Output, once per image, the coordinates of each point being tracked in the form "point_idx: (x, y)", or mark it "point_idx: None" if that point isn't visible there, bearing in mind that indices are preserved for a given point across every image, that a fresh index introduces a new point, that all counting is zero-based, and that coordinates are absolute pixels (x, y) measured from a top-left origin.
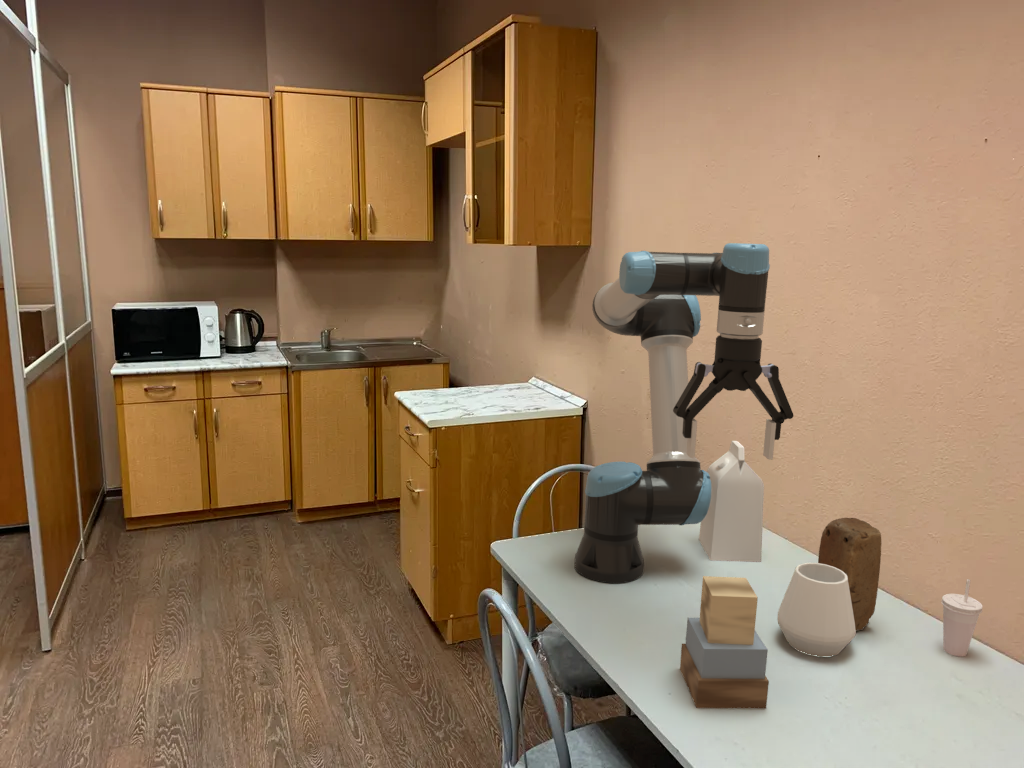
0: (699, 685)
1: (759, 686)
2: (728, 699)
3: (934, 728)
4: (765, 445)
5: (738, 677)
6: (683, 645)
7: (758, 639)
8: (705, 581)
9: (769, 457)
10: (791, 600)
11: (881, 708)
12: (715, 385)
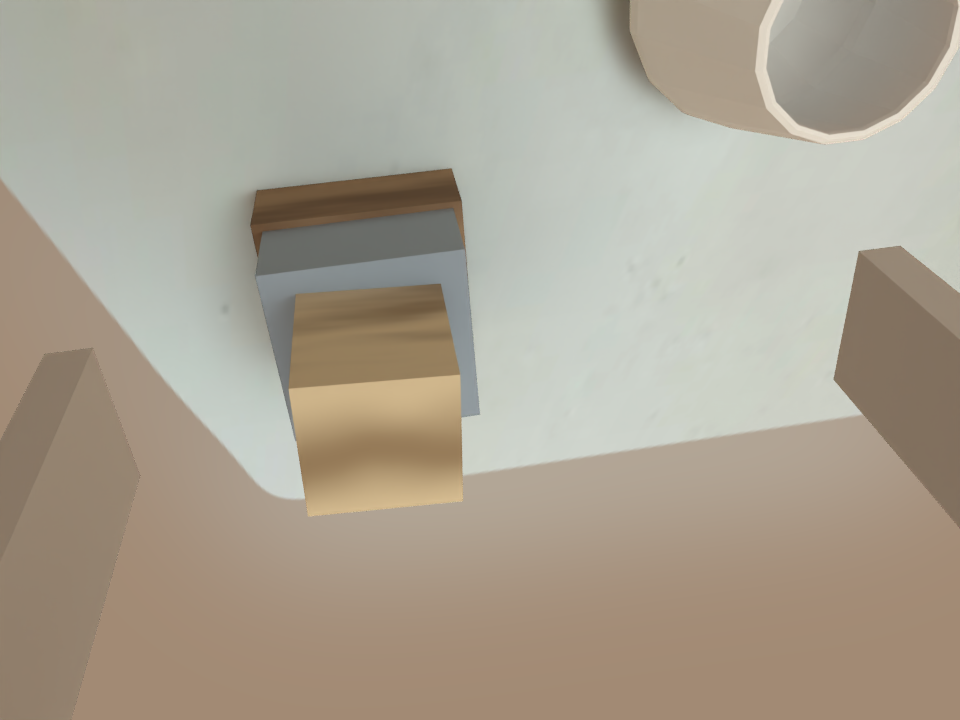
0: None
1: None
2: None
3: (815, 343)
4: (913, 345)
5: None
6: (255, 236)
7: (467, 371)
8: (294, 426)
9: (849, 392)
10: (687, 54)
11: (743, 291)
12: None
